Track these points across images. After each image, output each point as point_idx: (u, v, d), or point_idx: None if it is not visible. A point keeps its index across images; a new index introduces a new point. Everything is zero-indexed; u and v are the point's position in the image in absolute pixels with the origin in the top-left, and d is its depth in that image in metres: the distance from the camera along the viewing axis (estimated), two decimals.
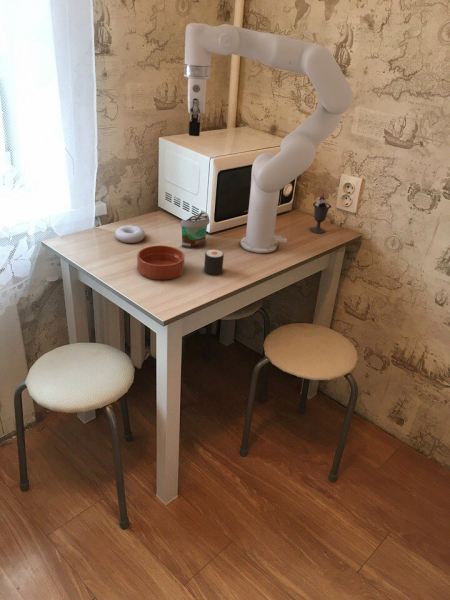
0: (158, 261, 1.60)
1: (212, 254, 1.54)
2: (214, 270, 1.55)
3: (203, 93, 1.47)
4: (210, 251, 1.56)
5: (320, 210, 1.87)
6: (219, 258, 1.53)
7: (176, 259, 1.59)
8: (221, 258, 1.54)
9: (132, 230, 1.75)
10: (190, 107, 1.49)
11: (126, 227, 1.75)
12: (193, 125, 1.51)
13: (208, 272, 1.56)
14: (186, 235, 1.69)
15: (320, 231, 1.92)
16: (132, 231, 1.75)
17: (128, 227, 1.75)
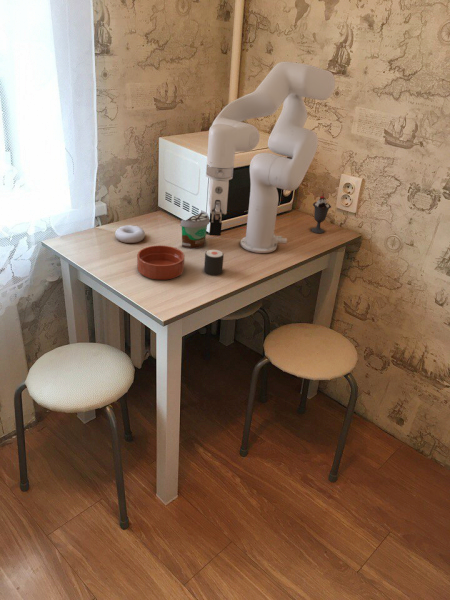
0: (158, 261, 1.60)
1: (212, 254, 1.54)
2: (214, 270, 1.55)
3: (226, 195, 1.41)
4: (210, 251, 1.56)
5: (320, 210, 1.87)
6: (219, 258, 1.53)
7: (176, 259, 1.59)
8: (221, 258, 1.54)
9: (132, 230, 1.75)
10: (212, 208, 1.43)
11: (126, 227, 1.75)
12: (214, 225, 1.45)
13: (208, 272, 1.56)
14: (186, 235, 1.69)
15: (320, 231, 1.92)
16: (132, 231, 1.75)
17: (128, 227, 1.75)
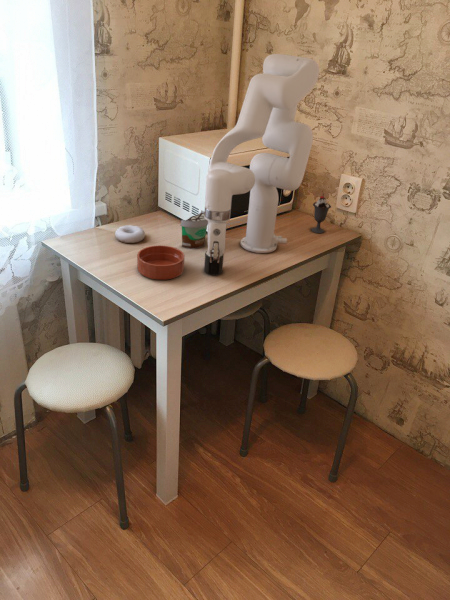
0: (158, 261, 1.60)
1: (212, 254, 1.54)
2: None
3: (223, 236, 1.47)
4: None
5: (320, 210, 1.87)
6: (219, 258, 1.53)
7: (176, 259, 1.59)
8: (221, 258, 1.54)
9: (132, 230, 1.75)
10: (210, 249, 1.49)
11: (126, 227, 1.75)
12: (213, 265, 1.53)
13: None
14: (186, 235, 1.69)
15: (320, 231, 1.92)
16: (132, 231, 1.75)
17: (128, 227, 1.75)
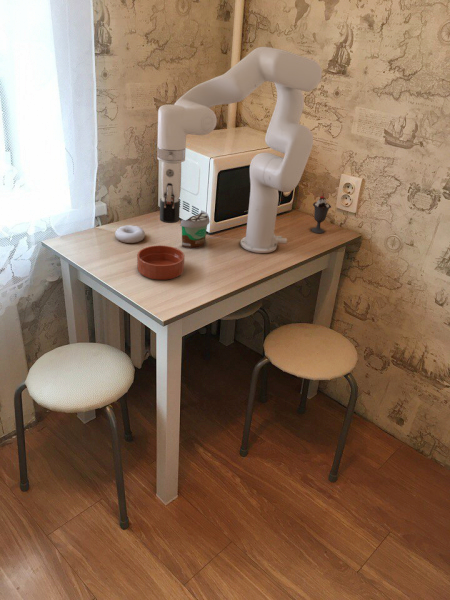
0: (158, 261, 1.60)
1: None
2: None
3: (177, 178, 1.37)
4: None
5: (320, 210, 1.87)
6: (174, 204, 1.43)
7: (176, 259, 1.59)
8: (177, 204, 1.44)
9: (132, 230, 1.75)
10: (164, 192, 1.39)
11: (126, 227, 1.75)
12: (167, 211, 1.43)
13: None
14: (186, 235, 1.69)
15: (320, 231, 1.92)
16: (132, 231, 1.75)
17: (128, 227, 1.75)
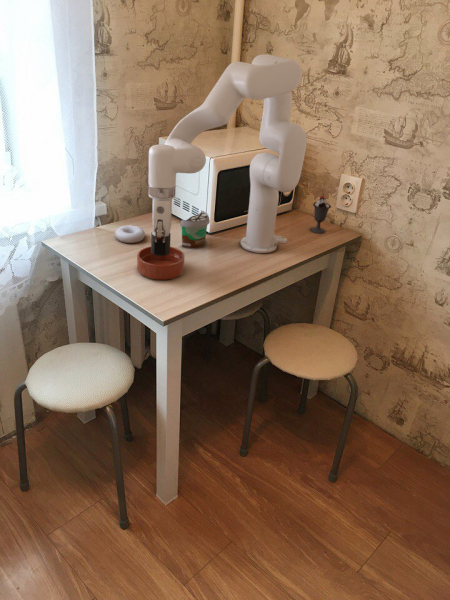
0: (158, 261, 1.60)
1: None
2: None
3: (167, 214, 1.42)
4: None
5: (320, 210, 1.87)
6: (165, 238, 1.48)
7: (176, 259, 1.59)
8: (167, 238, 1.49)
9: (132, 230, 1.75)
10: (154, 227, 1.44)
11: (126, 227, 1.75)
12: (158, 245, 1.48)
13: None
14: (186, 235, 1.69)
15: (320, 231, 1.92)
16: (132, 231, 1.75)
17: (128, 227, 1.75)
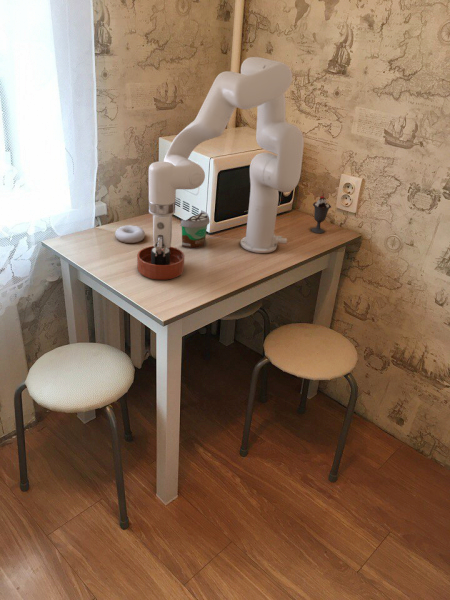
0: None
1: None
2: None
3: (168, 230, 1.45)
4: None
5: (320, 210, 1.87)
6: None
7: (176, 259, 1.59)
8: (167, 255, 1.52)
9: (132, 230, 1.75)
10: (155, 243, 1.46)
11: (126, 227, 1.75)
12: (159, 259, 1.48)
13: None
14: (186, 235, 1.69)
15: (320, 231, 1.92)
16: (132, 231, 1.75)
17: (128, 227, 1.75)
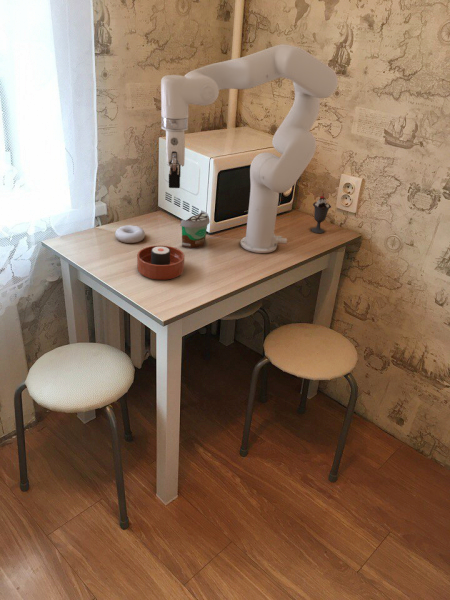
0: None
1: (158, 251, 1.52)
2: None
3: (182, 146, 1.43)
4: (157, 248, 1.54)
5: (320, 210, 1.87)
6: (164, 255, 1.51)
7: (176, 259, 1.59)
8: (167, 255, 1.52)
9: (132, 230, 1.75)
10: (169, 160, 1.45)
11: (126, 227, 1.75)
12: (173, 178, 1.47)
13: None
14: (186, 235, 1.69)
15: (320, 231, 1.92)
16: (132, 231, 1.75)
17: (128, 227, 1.75)
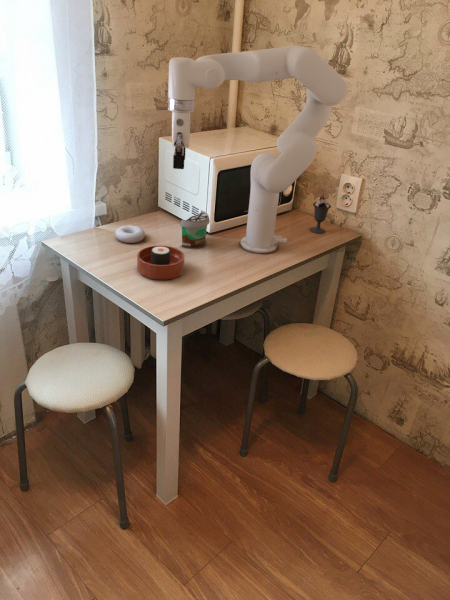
0: None
1: (158, 251, 1.52)
2: None
3: (187, 127, 1.46)
4: (157, 248, 1.54)
5: (320, 210, 1.87)
6: (164, 255, 1.51)
7: (176, 259, 1.59)
8: (167, 255, 1.52)
9: (132, 230, 1.75)
10: (174, 141, 1.48)
11: (126, 227, 1.75)
12: (177, 158, 1.50)
13: None
14: (186, 235, 1.69)
15: (320, 231, 1.92)
16: (132, 231, 1.75)
17: (128, 227, 1.75)
